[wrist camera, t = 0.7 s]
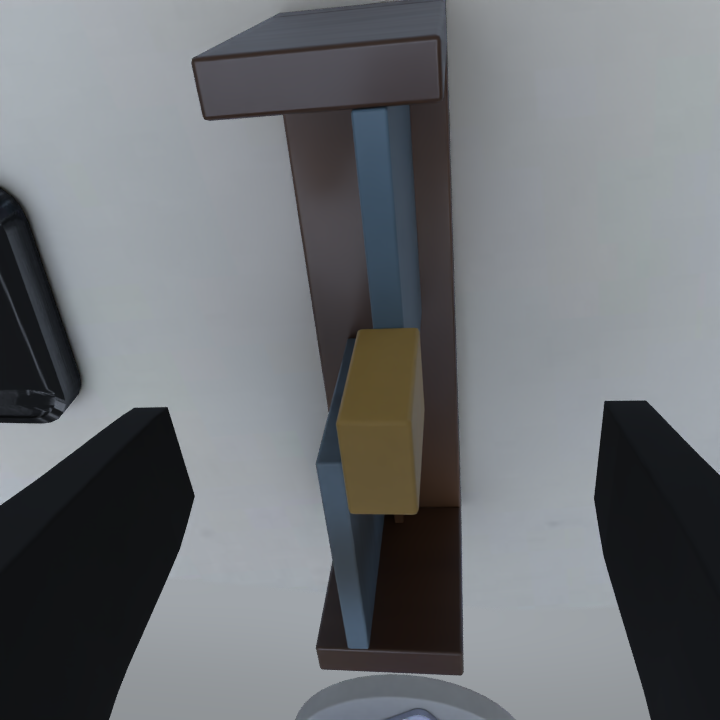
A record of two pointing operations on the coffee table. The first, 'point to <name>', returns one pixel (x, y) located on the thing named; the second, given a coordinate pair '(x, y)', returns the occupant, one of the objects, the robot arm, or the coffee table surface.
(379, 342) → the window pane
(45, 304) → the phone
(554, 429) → the coffee table surface
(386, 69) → the window frame
